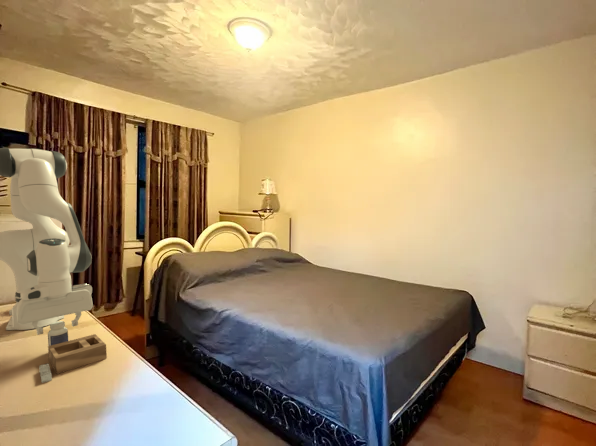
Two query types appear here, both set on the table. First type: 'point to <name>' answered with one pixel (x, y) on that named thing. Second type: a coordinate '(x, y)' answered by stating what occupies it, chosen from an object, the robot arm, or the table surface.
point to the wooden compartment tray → (76, 353)
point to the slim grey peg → (45, 373)
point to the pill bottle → (57, 333)
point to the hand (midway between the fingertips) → (58, 329)
